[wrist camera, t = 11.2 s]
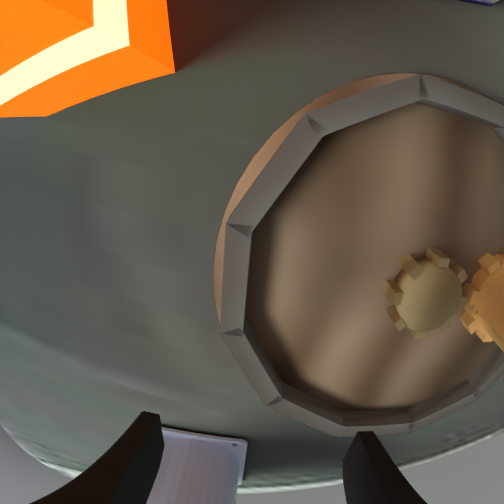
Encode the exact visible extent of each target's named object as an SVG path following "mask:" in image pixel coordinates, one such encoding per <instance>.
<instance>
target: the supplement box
mask: <svg viewBox="0 0 504 504" xmlns="http://www.w3.org/2000/svg"><path fill="white" fill-rule="evenodd" d="M463 1H468V2H474V3H479V4H484V5H488V6H491V5H492V4H493V3H495V2H497V1H499V0H463Z"/></svg>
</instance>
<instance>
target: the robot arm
mask: <svg viewBox="0 0 504 504" xmlns="http://www.w3.org/2000/svg"><path fill="white" fill-rule="evenodd" d="M247 444H248V443H247V441H246V440H244V439H237V438H228V437H220V436H213V435H206V434H199V433H193V432H187V431H182V430H176V429H171V428H166V427H161V421H160V415H159V414H155V413H150V412H145V411H143V412H141V413H140V415H139V416H138V417H137V418H136V420H135V421H134V422H133V423H132V424H131V426H130V427H129V428H128V429H127V430H126V431H125V433H124V434H123V435H122V436H121V437H120V438H119V439H118V440H117V441H116V442H115V443H114V444H113V445H112V446H111V447H110V449H109V450H108V451H107V452H105V453H104V454H103V455H102V456H101V457H100V458H99V459H98V460H97V461H96V462H95V463H93V464H92V465H91V466H90V467H89V468H88V469H86V470H85V471H84V472H83V473H81V474H80V475H79V476H77V477H76V478H75V479H73V480H72V481H70V482H69V483H67V484H66V485H64V486H63V487H61V488H59V489H58V490H56V491H54V492H53V493H51V494H49V495H47V496H45V497H43V498H41V499H39V500H37V501H35V502H32V503H30V504H236V496H237V487H238V485H240V484H242V478H243V472H244V465H245V458H246V451H247ZM343 483H344V489H345V495H346V501H347V504H427V503H426V502H425V501H424V500H423V499H422V498H421V497H420V496H419V494H418V493H417V492H416V491H415V490H414V488H413V487H412V486H411V485H410V484H409V482H408V481H407V480H406V479H405V477H404V476H403V475H402V473H401V472H400V470H399V469H398V468H397V466H396V465H395V463H394V462H393V461H392V459H391V458H390V456H389V455H388V453H387V452H386V450H385V449H384V447H383V445H382V444H381V442H380V441H379V439H378V438H377V436H376V434H375V433H374V432H373V431H358V432H357V434H356V436H355V438H354V440H353V442H352V444H351V446H350V448H349V449H348V451H347V453H346V455H345V457H344V459H343Z"/></svg>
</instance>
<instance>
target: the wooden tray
mask: <svg viewBox="0 0 504 504" xmlns="http://www.w3.org/2000/svg"><path fill="white" fill-rule="evenodd" d="M487 253H489V254H491V255H492V256H495V255H496V254H503V253H504V106H503V105H501V104H499V103H497V102H495V101H492V100H490V99H488V98H485V97H484V96H482V95H481V94H479V93H478V92H476V91H474V90H472V89H470V88H467V87H465V86H463V85H461V84H459V83H457V82H454V81H450V80H447V79H443V78H439V77H436V76H431V75H422V74H411V73H401V74H388V75H378V76H374V77H370V78H366V79H362V80H358V81H355V82H351V83H349V84H347V85H344V86H342V87H340V88H337V89H335V90H333V91H331V92H328V93H326V94H324V95H322V96H321V97H319V98H318V99H316V100H315V101H313V102H312V103H310V104H308V105H307V106H305V107H304V108H302V109H301V110H299V111H298V112H297V113H296V114H294V115H293V116H292V117H291V118H290V119H289V120H288V121H287V122H285V123H284V124H283V125H282V126H281V127H280V128H279V129H278V130H277V131H275V132H274V133H273V135H272V136H271V137H270V138H269V139H268V141H267V142H266V143H265V144H264V145H263V147H262V148H261V149H260V150H259V151H258V153H257V154H256V155H255V156H254V157H253V159H252V161H251V162H250V164H249V165H248V167H247V169H246V170H245V172H244V174H243V175H242V177H241V179H240V180H239V182H238V183H237V185H236V188H235V190H234V192H233V195H232V197H231V199H230V201H229V204H228V206H227V208H226V211H225V213H224V217H223V221H222V224H221V228H220V232H219V235H218V239H217V245H216V253H215V261H214V296H215V302H216V307H217V313H218V318H219V322H220V335H221V337H222V339H223V340H224V342H225V344H226V345H227V347H228V348H229V350H230V352H231V353H232V355H233V356H234V358H235V360H236V361H237V363H238V364H239V366H240V367H241V369H242V371H243V372H244V374H245V375H246V377H247V378H248V380H249V381H250V383H251V385H252V386H253V388H254V389H255V391H256V392H257V394H258V395H259V397H260V398H261V400H262V401H263V403H264V404H265V406H266V407H268V408H271V409H273V410H275V411H277V412H279V413H281V414H283V415H285V416H288V417H290V418H292V419H294V420H296V421H299V422H301V423H303V424H305V425H308V426H310V427H312V428H315V429H317V430H320V431H322V432H324V433H327V434H329V435H332V436H334V437H354V436H356V434H357V432H358V431H373V432H374V433H375V434H376V435H390V434H401V433H410V432H413V431H415V430H417V429H419V428H422V427H424V426H426V425H428V424H431V423H433V422H435V421H437V420H439V419H441V418H443V417H445V416H447V415H449V414H451V413H453V412H455V411H457V410H459V409H461V408H463V407H465V406H467V405H469V404H471V403H472V402H474V401H476V400H478V399H479V398H480V397H481V396H482V395H483V394H484V393H485V392H486V391H487V390H488V389H489V388H490V387H491V386H492V385H493V384H494V383H495V382H496V381H497V380H498V379H499V378H500V377H501V376H502V375H503V374H504V352H503V351H502V350H501V348H500V347H499V346H498V345H497V344H496V343H495V341H494V340H492V342H483V341H482V340H481V339H480V338H479V336H478V335H477V334H476V331H475V332H474V333H473V334H470V333H469V331H468V330H467V329H466V328H465V327H464V325H463V323H462V321H461V319H460V316H461V315H462V314H464V313H465V312H466V309H465V304H466V301H467V299H468V297H467V296H466V295H465V294H464V293H463V292H462V288H463V285H464V283H471V282H472V279H473V276H474V274H475V273H476V272H477V271H478V270H479V269H480V268H481V267H480V265H479V262H478V261H479V260H480V259H481V258H482V257H483V256H484V255H485V254H487Z"/></svg>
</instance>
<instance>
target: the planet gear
mask: <svg viewBox="0 0 504 504" xmlns="http://www.w3.org/2000/svg"><path fill="white" fill-rule="evenodd" d="M478 262H479V265H480V267H481V268H480V269H479V270H478V271H477V272H476V273H475V274H474V276H473V279H472V282H471V283H464V285H463V288H462V292H463V293H464V294H465V295H466V296H467V297H468V299H467V301H466V304H465V309H466V312H465V313H464V314H462V315H461V316H460V319H461V321H462V323H463V325H464V327H465V328H466V329H467V330H468V331H469V333H470V334H473V333H474V332H475V331H476V334H477V335H478V336H479V338H480V339H481V340H482V341H483V342H492V340H494V341H495V343H496V344H497V345H498V346H499V347H500V348H501V350H502V351H503V352H504V253H503V254H496V255H495V256H492V255H491V254H489V253H487V254H485V255H484V256H483V257H482V258H481V259H480V260H479V261H478Z"/></svg>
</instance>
